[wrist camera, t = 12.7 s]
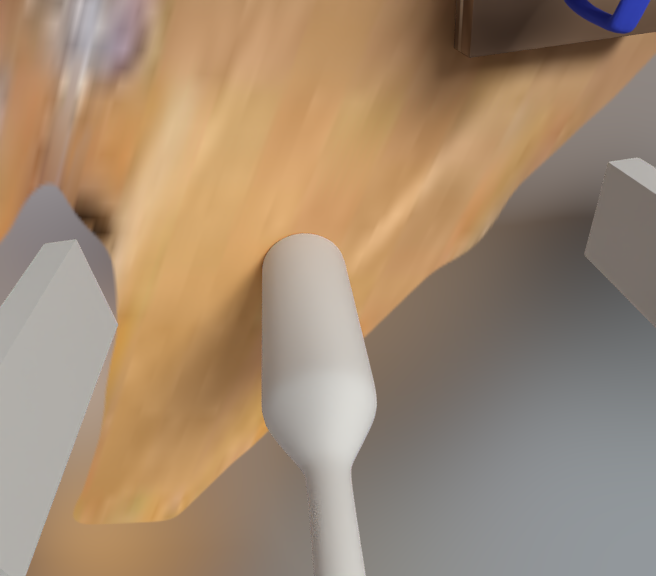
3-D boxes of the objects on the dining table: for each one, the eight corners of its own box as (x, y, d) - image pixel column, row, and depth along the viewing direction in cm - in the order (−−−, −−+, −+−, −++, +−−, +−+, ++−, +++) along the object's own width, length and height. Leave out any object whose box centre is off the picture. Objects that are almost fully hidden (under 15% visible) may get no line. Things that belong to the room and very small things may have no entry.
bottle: (344, 297, 50) (418, 635, 26) (266, 303, 49) (268, 655, 25) (345, 229, 45) (436, 567, 21) (258, 234, 45) (251, 590, 21)
